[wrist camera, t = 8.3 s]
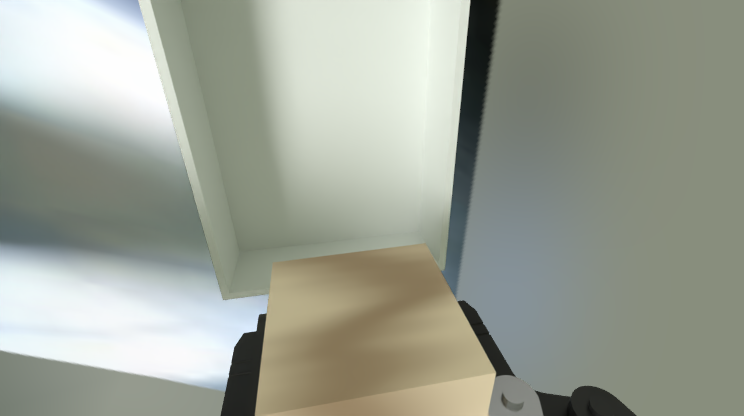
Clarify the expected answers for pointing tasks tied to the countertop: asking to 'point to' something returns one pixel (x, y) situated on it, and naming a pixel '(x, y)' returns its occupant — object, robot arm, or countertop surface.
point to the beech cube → (369, 339)
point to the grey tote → (312, 124)
